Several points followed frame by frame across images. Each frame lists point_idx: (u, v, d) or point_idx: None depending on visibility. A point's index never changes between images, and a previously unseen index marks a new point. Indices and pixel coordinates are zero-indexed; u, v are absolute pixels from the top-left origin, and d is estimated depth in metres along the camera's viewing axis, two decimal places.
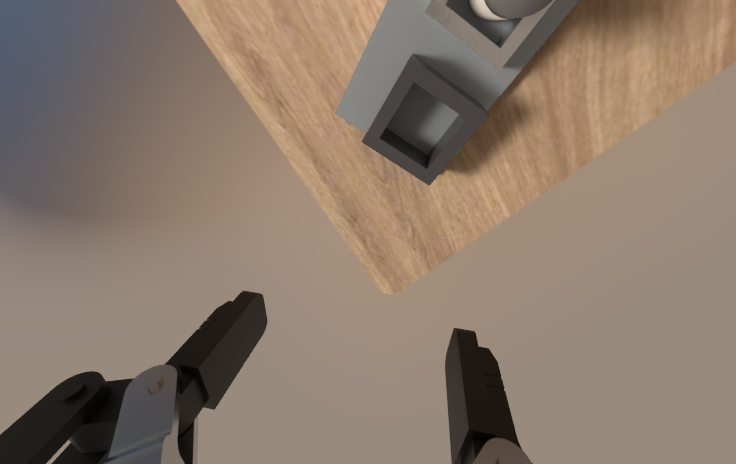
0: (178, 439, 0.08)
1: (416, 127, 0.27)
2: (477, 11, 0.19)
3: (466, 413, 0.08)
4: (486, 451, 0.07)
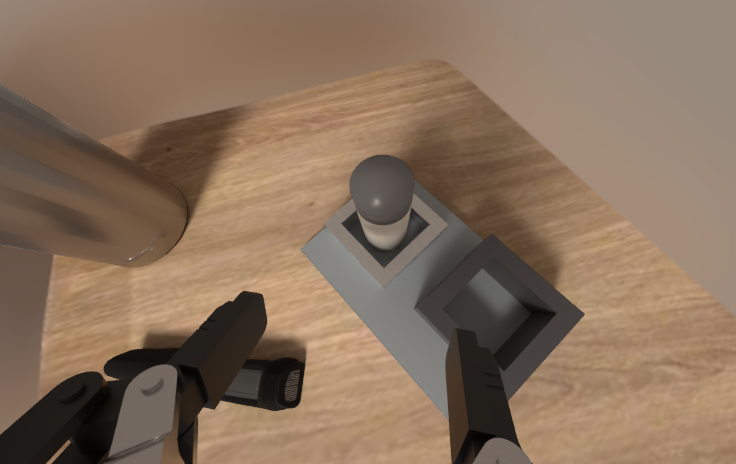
0: (178, 439, 0.08)
1: (492, 320, 0.21)
2: (396, 240, 0.21)
3: (466, 413, 0.08)
4: (486, 451, 0.07)
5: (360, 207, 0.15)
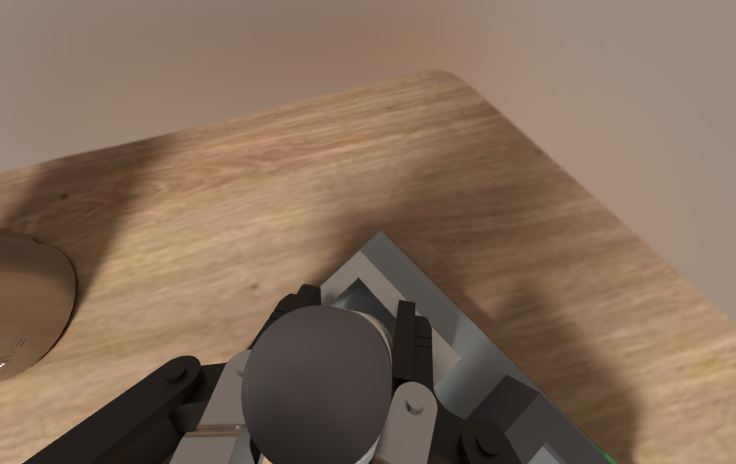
0: None
1: None
2: None
3: None
4: (399, 391, 0.08)
5: (263, 447, 0.06)
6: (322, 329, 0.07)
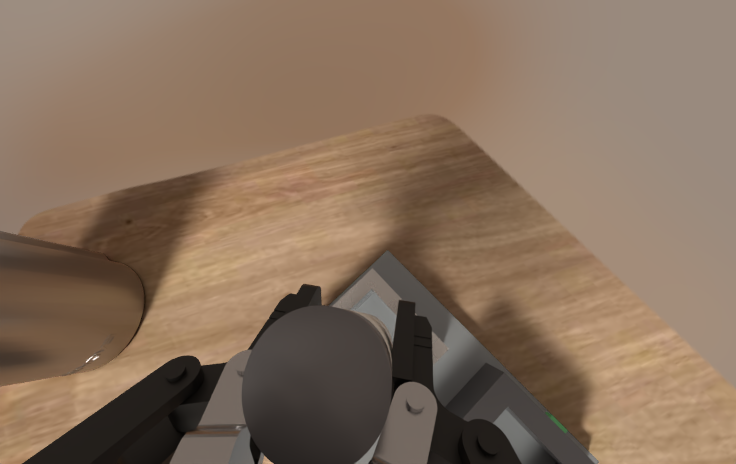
0: None
1: None
2: None
3: None
4: (399, 391, 0.08)
5: (263, 447, 0.06)
6: (322, 329, 0.07)
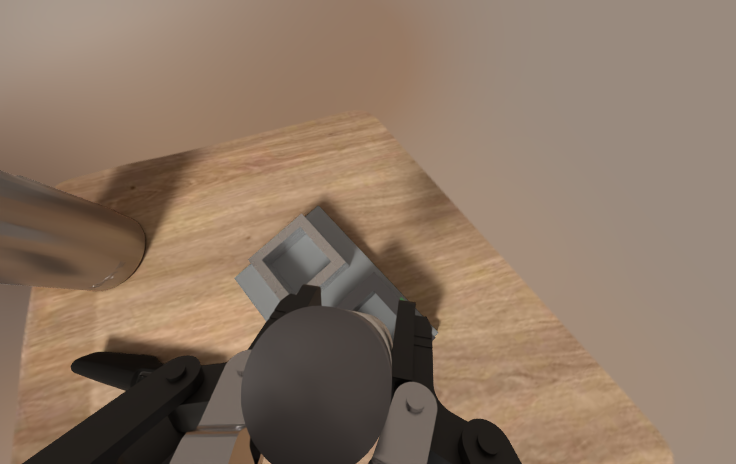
0: None
1: None
2: None
3: None
4: (399, 391, 0.08)
5: (262, 448, 0.06)
6: (322, 329, 0.07)
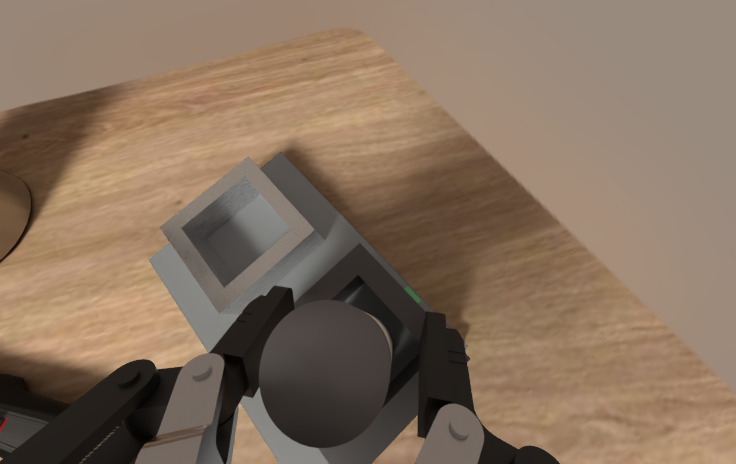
0: (218, 427, 0.09)
1: None
2: None
3: (427, 383, 0.08)
4: (441, 414, 0.07)
5: None
6: (330, 320, 0.08)
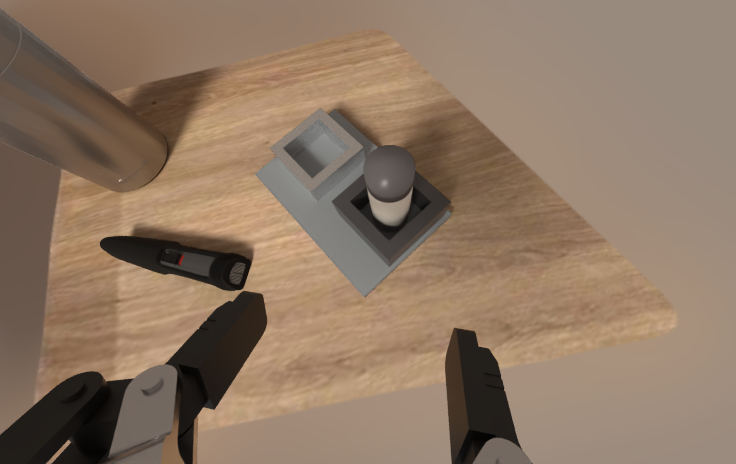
0: (178, 439, 0.08)
1: None
2: (400, 219, 0.25)
3: (466, 413, 0.08)
4: (486, 451, 0.07)
5: (372, 186, 0.19)
6: (390, 152, 0.19)
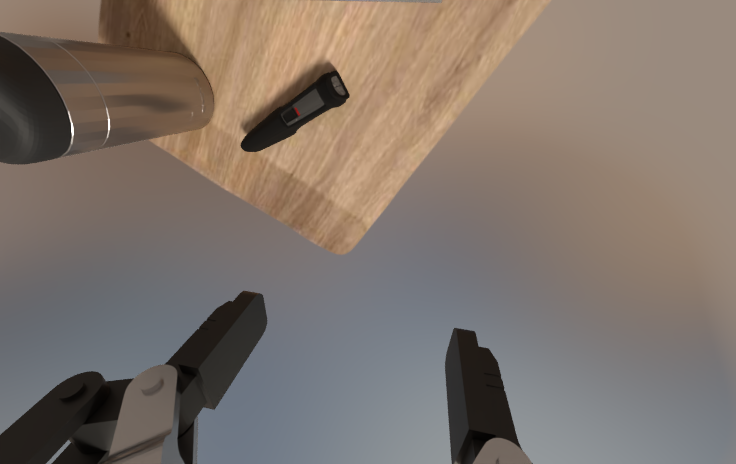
0: (178, 439, 0.08)
1: None
2: None
3: (466, 413, 0.08)
4: (486, 451, 0.07)
5: None
6: None
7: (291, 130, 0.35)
